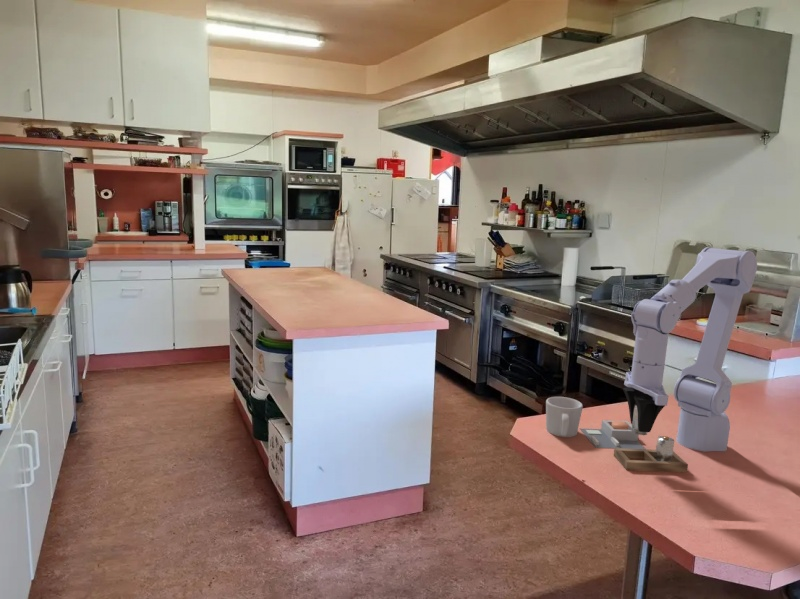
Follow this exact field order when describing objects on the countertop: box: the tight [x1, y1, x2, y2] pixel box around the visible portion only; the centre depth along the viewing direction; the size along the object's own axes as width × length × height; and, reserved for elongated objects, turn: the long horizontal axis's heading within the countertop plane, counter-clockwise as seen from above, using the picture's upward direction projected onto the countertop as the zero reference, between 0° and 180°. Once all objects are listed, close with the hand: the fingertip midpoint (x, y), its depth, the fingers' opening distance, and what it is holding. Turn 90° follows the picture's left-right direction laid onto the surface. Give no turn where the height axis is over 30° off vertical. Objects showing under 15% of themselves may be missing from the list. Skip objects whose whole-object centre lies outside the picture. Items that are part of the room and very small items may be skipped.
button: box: [612, 420, 629, 430], centre depth 129 cm, size 4×4×2 cm
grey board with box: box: [578, 419, 647, 450], centre depth 127 cm, size 11×10×3 cm
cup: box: [545, 396, 584, 438], centre depth 128 cm, size 11×8×8 cm
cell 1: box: [631, 404, 649, 436], centre depth 114 cm, size 3×3×6 cm
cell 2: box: [655, 435, 675, 462], centre depth 115 cm, size 3×3×6 cm
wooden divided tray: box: [613, 448, 689, 473], centre depth 115 cm, size 12×6×3 cm, turn 91°
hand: (640, 427), depth 114 cm, fingers closed on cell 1, 3 cm apart
